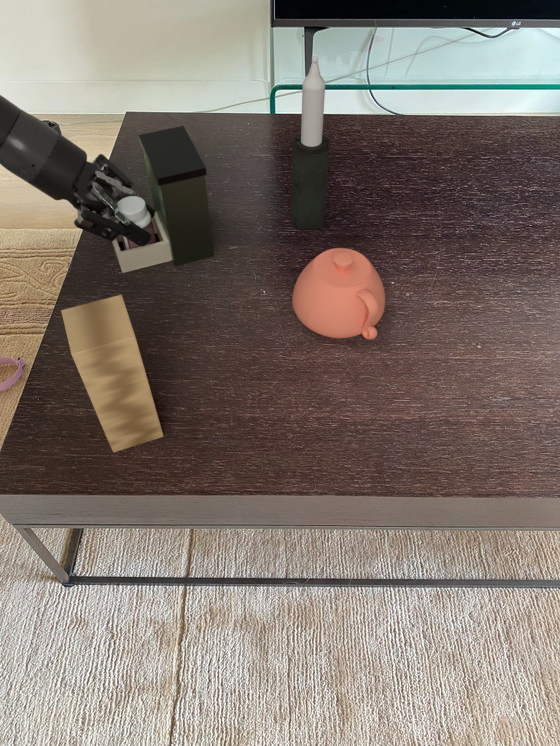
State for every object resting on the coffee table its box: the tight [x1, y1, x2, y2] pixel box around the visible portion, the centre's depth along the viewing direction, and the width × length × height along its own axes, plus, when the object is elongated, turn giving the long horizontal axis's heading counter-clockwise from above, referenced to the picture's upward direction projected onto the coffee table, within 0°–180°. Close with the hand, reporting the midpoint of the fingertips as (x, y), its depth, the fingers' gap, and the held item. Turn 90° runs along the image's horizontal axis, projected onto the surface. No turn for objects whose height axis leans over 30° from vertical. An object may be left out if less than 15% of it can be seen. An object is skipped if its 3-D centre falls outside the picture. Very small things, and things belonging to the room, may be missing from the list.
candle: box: [290, 55, 331, 230], centre depth 87 cm, size 5×5×25 cm
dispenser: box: [138, 125, 215, 267], centre depth 88 cm, size 6×10×15 cm, turn 21°
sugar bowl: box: [291, 247, 386, 340], centre depth 80 cm, size 12×14×10 cm
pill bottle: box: [116, 195, 157, 251], centre depth 89 cm, size 5×5×8 cm
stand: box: [60, 294, 164, 453], centre depth 67 cm, size 6×6×18 cm
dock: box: [108, 212, 173, 274], centre depth 91 cm, size 7×7×4 cm
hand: (149, 228), depth 89 cm, fingers closed on pill bottle, 4 cm apart
